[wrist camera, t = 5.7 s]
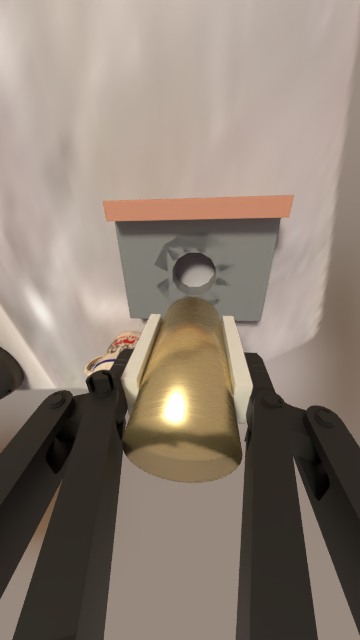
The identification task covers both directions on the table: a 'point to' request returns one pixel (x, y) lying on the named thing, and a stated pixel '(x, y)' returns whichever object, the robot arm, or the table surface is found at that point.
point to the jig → (198, 250)
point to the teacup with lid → (113, 352)
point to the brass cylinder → (186, 401)
